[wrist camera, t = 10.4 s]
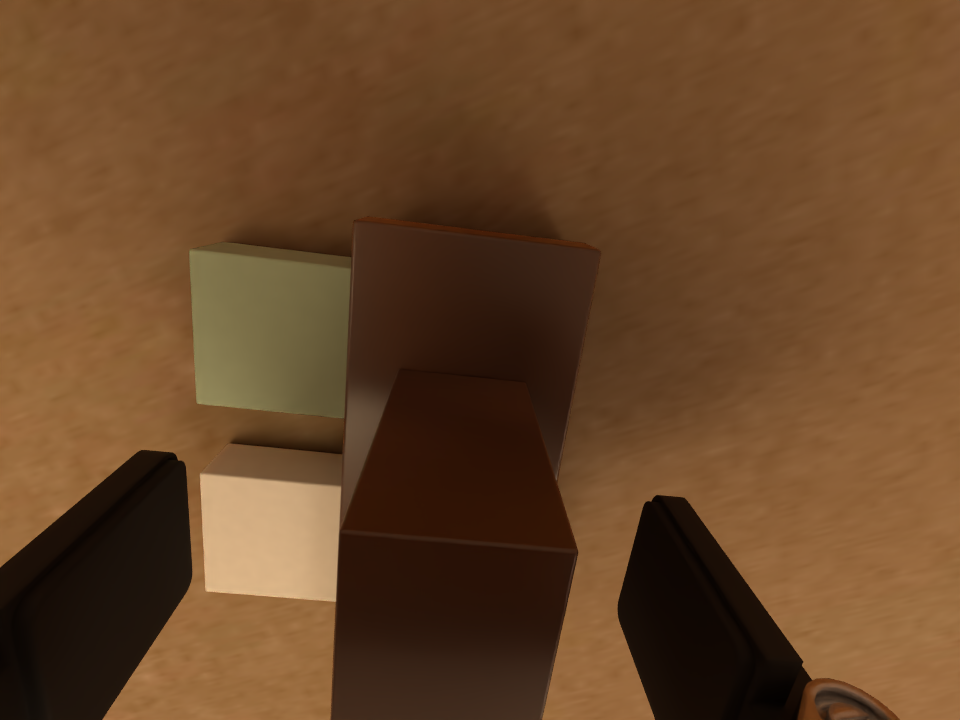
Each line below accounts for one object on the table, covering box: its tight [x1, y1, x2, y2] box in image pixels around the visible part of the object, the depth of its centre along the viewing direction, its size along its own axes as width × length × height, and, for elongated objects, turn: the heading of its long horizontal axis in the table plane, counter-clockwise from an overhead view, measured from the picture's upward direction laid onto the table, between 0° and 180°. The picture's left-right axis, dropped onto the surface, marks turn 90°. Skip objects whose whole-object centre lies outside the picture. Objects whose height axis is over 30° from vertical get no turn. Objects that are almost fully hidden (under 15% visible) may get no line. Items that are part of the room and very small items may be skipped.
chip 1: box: [189, 242, 351, 419], centre depth 14 cm, size 4×4×2 cm
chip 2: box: [200, 443, 342, 602], centre depth 16 cm, size 4×4×2 cm
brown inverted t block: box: [331, 216, 601, 720], centre depth 12 cm, size 5×12×9 cm, turn 173°
